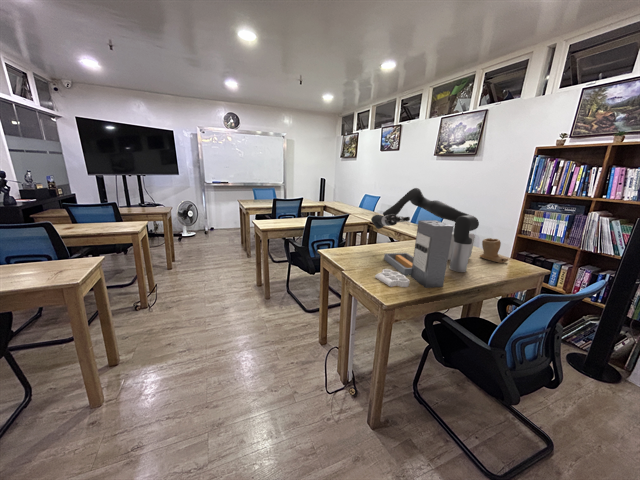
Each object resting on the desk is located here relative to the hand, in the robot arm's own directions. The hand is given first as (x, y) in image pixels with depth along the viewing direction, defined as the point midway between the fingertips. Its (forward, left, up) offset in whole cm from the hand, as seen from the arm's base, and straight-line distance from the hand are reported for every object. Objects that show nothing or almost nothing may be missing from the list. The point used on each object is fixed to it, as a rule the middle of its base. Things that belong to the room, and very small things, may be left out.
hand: (403, 218), depth 154 cm
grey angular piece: (-38, +17, -29) cm, 51 cm away
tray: (+2, +6, -29) cm, 30 cm away
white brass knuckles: (+27, +14, -30) cm, 42 cm away
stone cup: (-58, +36, -29) cm, 74 cm away
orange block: (+1, +6, -28) cm, 29 cm away
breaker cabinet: (+13, +26, -29) cm, 41 cm away
